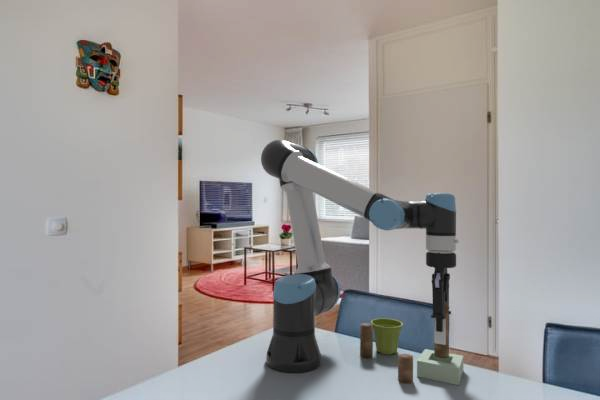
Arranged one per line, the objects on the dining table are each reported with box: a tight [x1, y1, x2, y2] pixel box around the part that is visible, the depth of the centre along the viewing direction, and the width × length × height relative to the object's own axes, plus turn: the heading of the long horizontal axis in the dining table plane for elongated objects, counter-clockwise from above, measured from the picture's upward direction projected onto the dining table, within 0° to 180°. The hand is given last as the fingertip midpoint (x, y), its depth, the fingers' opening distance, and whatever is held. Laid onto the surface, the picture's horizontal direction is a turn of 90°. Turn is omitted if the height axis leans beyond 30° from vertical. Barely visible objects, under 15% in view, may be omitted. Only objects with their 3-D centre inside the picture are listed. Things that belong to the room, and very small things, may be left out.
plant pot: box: [370, 317, 404, 356], centre depth 117 cm, size 9×9×9 cm
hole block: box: [416, 348, 464, 386], centre depth 101 cm, size 10×10×4 cm
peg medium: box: [359, 322, 374, 359], centre depth 113 cm, size 4×4×9 cm
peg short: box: [397, 353, 414, 385], centre depth 97 cm, size 4×4×6 cm
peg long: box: [433, 301, 450, 358], centre depth 101 cm, size 4×4×14 cm
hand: (441, 341), depth 101 cm, fingers closed on peg long, 3 cm apart
